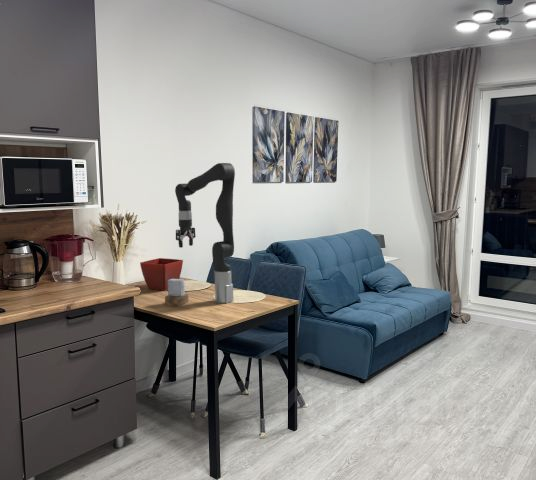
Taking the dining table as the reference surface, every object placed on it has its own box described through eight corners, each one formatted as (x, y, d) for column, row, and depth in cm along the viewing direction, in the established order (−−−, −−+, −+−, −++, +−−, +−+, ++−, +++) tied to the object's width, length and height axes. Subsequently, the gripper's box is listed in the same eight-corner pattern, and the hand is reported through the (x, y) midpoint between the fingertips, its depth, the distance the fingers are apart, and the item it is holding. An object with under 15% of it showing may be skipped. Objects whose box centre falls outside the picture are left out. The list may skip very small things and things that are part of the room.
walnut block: (188, 303, 267) (188, 294, 267) (179, 307, 259) (179, 298, 259) (174, 301, 271) (174, 292, 270) (165, 305, 263) (164, 296, 262)
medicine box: (185, 294, 265) (184, 279, 264) (181, 297, 261) (180, 281, 260) (171, 294, 267) (171, 278, 266) (168, 296, 263) (167, 280, 262)
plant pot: (160, 283, 315) (159, 257, 313) (184, 286, 306) (183, 259, 304) (140, 289, 298) (139, 262, 296) (165, 292, 289) (164, 264, 287)
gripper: (181, 219, 272) (182, 248, 274) (198, 217, 284) (199, 245, 286) (171, 219, 276) (172, 247, 278) (188, 217, 288) (189, 244, 290)
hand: (186, 246), depth 282 cm, fingers open, 8 cm apart
